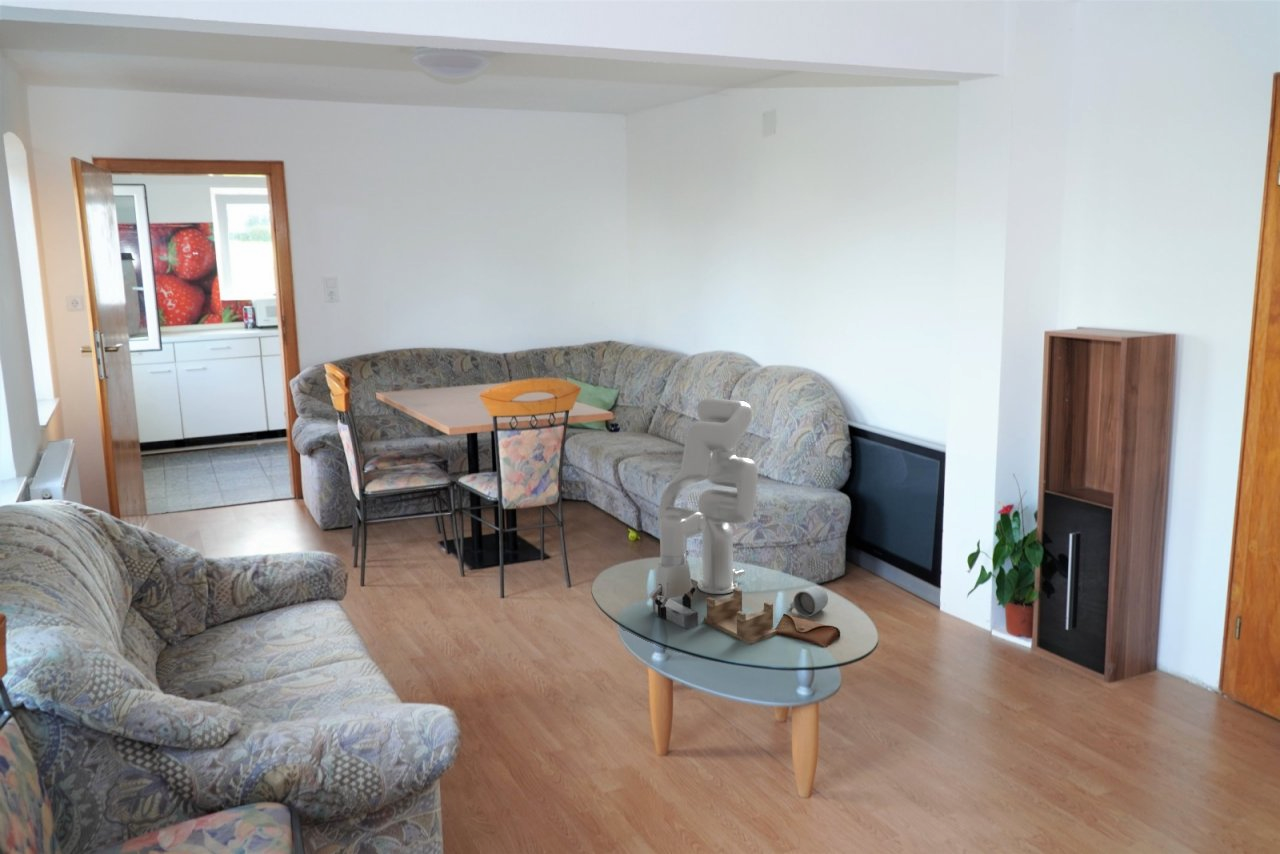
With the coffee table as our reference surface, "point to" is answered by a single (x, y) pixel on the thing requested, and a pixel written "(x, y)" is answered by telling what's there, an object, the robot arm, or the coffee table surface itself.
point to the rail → (679, 614)
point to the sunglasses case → (807, 631)
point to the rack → (740, 618)
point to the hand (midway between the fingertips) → (674, 614)
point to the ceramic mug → (810, 601)
